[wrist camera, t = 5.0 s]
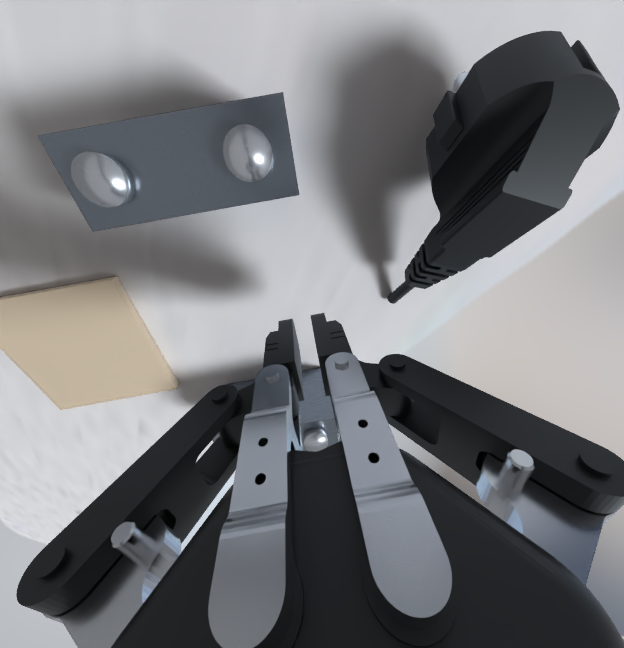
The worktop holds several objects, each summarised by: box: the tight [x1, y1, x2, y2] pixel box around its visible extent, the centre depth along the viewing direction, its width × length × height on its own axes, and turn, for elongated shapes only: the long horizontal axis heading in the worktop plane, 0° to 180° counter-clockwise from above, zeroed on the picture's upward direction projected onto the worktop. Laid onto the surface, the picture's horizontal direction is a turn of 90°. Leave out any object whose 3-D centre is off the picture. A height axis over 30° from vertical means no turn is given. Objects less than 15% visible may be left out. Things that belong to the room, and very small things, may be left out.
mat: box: [0, 276, 179, 410], centre depth 18 cm, size 9×9×1 cm
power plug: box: [388, 31, 620, 303], centre depth 14 cm, size 6×8×12 cm
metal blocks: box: [38, 92, 339, 452], centre depth 15 cm, size 19×8×6 cm, turn 9°
